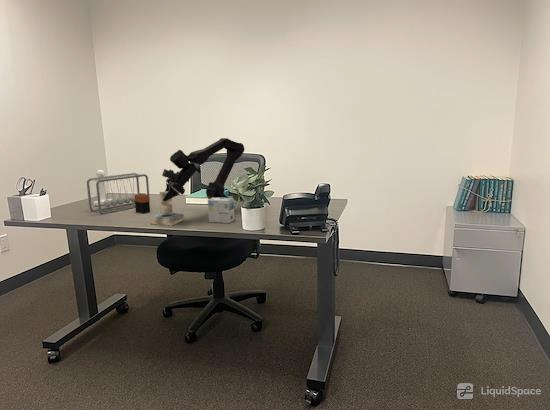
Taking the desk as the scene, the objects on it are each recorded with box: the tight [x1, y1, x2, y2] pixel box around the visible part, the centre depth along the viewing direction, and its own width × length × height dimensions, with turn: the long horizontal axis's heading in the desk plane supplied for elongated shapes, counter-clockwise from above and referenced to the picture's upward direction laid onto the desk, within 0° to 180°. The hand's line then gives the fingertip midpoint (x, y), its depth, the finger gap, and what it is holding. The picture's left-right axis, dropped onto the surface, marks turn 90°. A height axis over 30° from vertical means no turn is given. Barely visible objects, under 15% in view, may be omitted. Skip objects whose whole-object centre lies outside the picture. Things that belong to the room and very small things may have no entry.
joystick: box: [92, 169, 113, 207], centre depth 231 cm, size 11×8×20 cm
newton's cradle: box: [86, 172, 151, 215], centre depth 221 cm, size 30×10×18 cm, turn 141°
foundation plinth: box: [149, 212, 185, 227], centre depth 191 cm, size 11×11×3 cm
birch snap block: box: [159, 191, 174, 215], centre depth 189 cm, size 5×5×10 cm
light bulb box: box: [207, 197, 236, 224], centre depth 191 cm, size 11×7×11 cm, turn 77°
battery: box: [134, 192, 151, 214], centre depth 212 cm, size 4×7×10 cm, turn 54°
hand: (162, 199), depth 188 cm, fingers closed on birch snap block, 5 cm apart
